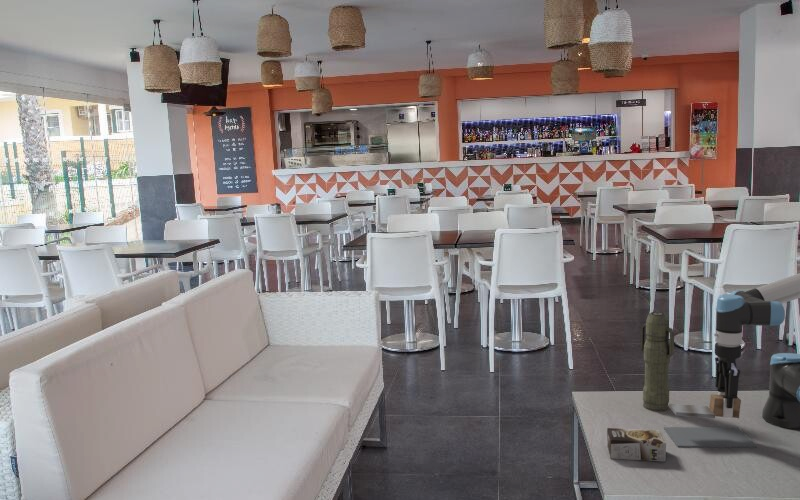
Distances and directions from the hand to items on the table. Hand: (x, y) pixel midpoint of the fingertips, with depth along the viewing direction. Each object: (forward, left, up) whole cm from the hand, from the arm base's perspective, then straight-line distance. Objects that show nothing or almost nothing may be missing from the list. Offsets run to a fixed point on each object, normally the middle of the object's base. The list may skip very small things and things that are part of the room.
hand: (725, 414), depth 210 cm
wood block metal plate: (+6, 0, 0) cm, 6 cm away
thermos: (+14, -26, -8) cm, 31 cm away
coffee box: (+23, +13, -5) cm, 27 cm away
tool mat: (+5, 0, -8) cm, 9 cm away
